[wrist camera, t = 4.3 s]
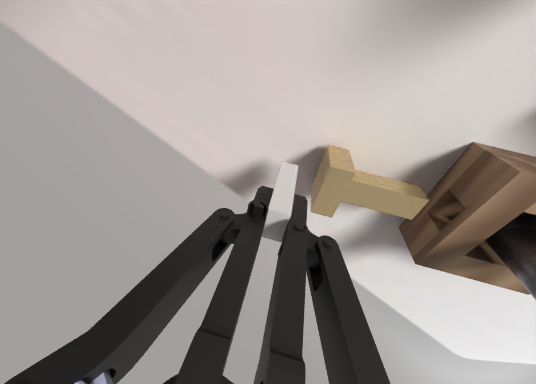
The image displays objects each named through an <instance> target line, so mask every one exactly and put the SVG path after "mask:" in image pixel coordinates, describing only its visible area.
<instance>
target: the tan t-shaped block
mask: <svg viewBox="0 0 536 384" xmlns="http://www.w3.org/2000/svg"><path fill="white" fill-rule="evenodd" d="M341 201H342V202H345V203H349V204H353V205H357V206H361V207H365V208H368V209H372V210H376V211H380V212H384V213H388V214H391V215H395V216H399V217H403V218H407V219H411V220H412V219H413V218H414V217H415V216H416V215H417V214H418V212H419V211H420V210H421V209H422V208H423V207H424V206H425V205H426V204H427V202H428V201H429V199H428V197H427V196H426V195H425V193H424V192H423V191H422V189H421V188H420V186H417V185H413V184H409V183H405V182H401V181H397V180H393V179H389V178H385V177H381V176H377V175H373V174H369V173H366V172H362V171H358V170H355V168H354V165H353V162H352V158H351V155H350V152H349V150H347V149H343V148H339V147H335V146H331V145H328V146H327V149H326V151H325V154H324V156H323V159H322V161H321V164H320V166H319V169H318V172H317V174H316V177H315V179H314V182H313V184H312V190H311V212H312V213H316V214H320V215H324V216H328V217H331V218H332V217H333V215H334V213H335V211H336V209H337V207H338V205H339V203H340V202H341Z"/></svg>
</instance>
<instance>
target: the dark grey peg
mask: <svg viewBox="0 0 536 384" xmlns="http://www.w3.org/2000/svg"><path fill="white" fill-rule="evenodd" d="M485 241H486V243H487V244H488V245H489V246H490V247H491V248H492V249H493V251H494V252H495V253H496V254H497V255H498V256H499V258H500V259H501V260H502V261H503V262H504V263H505V265H506V266H507V267H508V268H509V269H510V270H511V272H512V273H513V274H514V275H515V276H516V277H517V279H518V280H519V281H520V282H521V283H522V284H523V286H524V287H525V288H526V289H527V290H528V291H529V293H530V294H531V295H532V296H533V297H534V298H535V300H536V216H535V215H534V214H530V213H526V212H522V213H521V214H520V215H518V216H517V217H516V218H514V219H513V220H512V221H510V222H509V223H508V224H506V225H505V226H503V227H502V228H501V229H499V230H498V231H497V232H495V233H494V234H493V235H491V236H490V237H489V238H487V239H486V240H485Z"/></svg>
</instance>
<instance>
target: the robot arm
mask: <svg viewBox="0 0 536 384" xmlns="http://www.w3.org/2000/svg"><path fill="white" fill-rule="evenodd" d="M297 172H298V165H294V164H290V163H287V162H283V161H282V164H281V167H280V170H279V174H278V177H277V181H276V184H275V187H274V189H272V188H269V187H265V186H261V187H260V188H259V189H258V191H257V193H256V196H255V198H254V200H253V201H251V202H250V203H249V205H248V210H247V213H244V214H234V212H233V211H232V210H230V209H227V208H221V209H218V210H217V211H215V212H214V213H213V214H212V215H211V216H210V217H209V218H208V219H207V220H206V221H205V222H203V224H201V225H200V226H199V227H198V228H197V229H196V230H195V231H194V232H193V233H192V234H191V235H190V236H189V237H187V238H186V239H185V240H184V241H183V242H182V243H181V244H180V245H179V246H178V247H177V248H176V249H175V250H174V251H173V252H172V253H170V254H169V255H168V256H167V257H166V258H165V259H164V260H163V261H162V262H161V263H160V264H159V265H158V266H157V267H156V268H155V269H153V270H152V271H151V272H150V273H149V274H148V275H147V276H146V277H145V278H144V279H143V280H142V281H141V282H140V283H139V284H137V285H136V286H135V287H134V288H133V289H132V290H131V291H130V292H129V293H128V294H127V295H126V296H125V297H124V298H123V299H122V300H120V301H119V302H118V303H117V304H116V305H115V306H114V307H113V308H112V309H111V310H110V311H109V312H108V313H107V314H106V315H105V316H103V317H102V318H101V319H100V320H99V321H98V322H97V323H96V324H95V325H94V326H93V327H92V328H91V329H90V330H89V331H87V332H86V333H85V334H83V335H81V336H79V337H78V338H76V339H74V340H73V341H71V342H70V343H68V344H66V345H65V346H63V347H61V348H60V349H58V350H57V351H55V352H53V353H52V354H50V355H49V356H47V357H45V358H44V359H42V360H40V361H39V362H37V363H36V364H34V365H32V366H31V367H29V368H27V369H26V370H24V371H23V372H21V373H20V374H18V375H16V376H15V377H13V378H11V379H10V380H8V381H7V382H6V383H5V384H116V383H118V382H119V381H120V380H121V379H122V378H123V377H124V376H125V375H126V374H127V373H128V372H129V371H130V370H131V369H132V368H133V366H134V365H135V364H136V363H137V362H138V361H139V359H140V358H141V357H142V356H143V355H144V353H145V352H146V351H147V350H148V348H149V347H150V346H151V345H152V343H153V342H154V341H155V339H156V338H157V337H158V335H159V334H160V333H161V332H162V331H163V329H164V328H165V327H166V326H167V324H168V323H169V322H170V321H171V319H172V318H173V317H174V315H175V314H176V313H177V312H178V310H179V309H180V308H181V307H182V305H183V304H184V303H185V302H186V300H187V299H188V298H189V296H190V295H191V294H192V293H193V291H194V290H195V289H196V288H197V286H198V285H199V284H200V282H201V281H202V280H203V279H204V278H205V276H206V275H207V274H208V272H209V271H210V270H211V269H212V267H213V266H214V265H215V263H216V262H217V261H218V260H219V259H220V257H221V256H222V255H223V253H224V252H225V251H226V250H227V248H228V247H229V246H230V244H234V246H233V249H232V251H231V254H230V256H229V259H228V261H227V263H226V266H225V268H224V271H223V273H222V276H221V278H220V280H219V283H218V285H217V288H216V290H215V293H214V295H213V298H212V300H211V303H210V305H209V307H208V310H207V313H206V315H205V317H204V320H203V322H202V324H201V326H200V328H199V329H198V330H197V332H196V334H195V336H194V338H193V340H192V343H191V345H190V347H189V350H188V352H187V355H186V357H185V359H184V362H183V364H182V367H181V369H180V371H179V374H177V375H175V376H173V377H171V378H170V379H169V380H167V381H166V382H164V383H163V384H233V383H232V382H231V381H229V380H228V379H227V378H226V377H224V376H223V372H224V368H225V365H226V361H227V357H228V353H229V350H230V346H231V343H232V339H233V336H234V332H235V329H236V325H237V322H238V318H239V315H240V311H241V308H242V304H243V300H244V297H245V293H246V290H247V286H248V283H249V279H250V276H251V272H252V269H253V265H254V262H255V258H256V254H257V251H258V247H259V244H260V240H261V237H264V238H268V239H272V240H275V241H279V242H282V244H281V247H280V249H279V252H278V261H277V266H276V272H275V277H274V283H273V288H272V294H271V299H270V304H269V310H268V315H267V322H266V326H265V332H264V338H263V343H262V349H261V353H260V359H259V364H258V368H257V371H256V375H255V380H254V384H305V363H304V361H303V358H302V346H303V325H304V304H305V284H306V271H307V276H308V281H309V286H310V291H311V296H312V301H313V306H314V310H315V316H316V321H317V325H318V330H319V335H320V340H321V345H322V350H323V355H324V360H325V365H326V370H327V375H328V380H329V384H390V382H389V379H388V376H387V374H386V371H385V368H384V366H383V363H382V361H381V358H380V355H379V353H378V350H377V347H376V344H375V342H374V339H373V337H372V334H371V331H370V329H369V326H368V323H367V321H366V318H365V315H364V313H363V310H362V307H361V305H360V302H359V300H358V297H357V294H356V291H355V289H354V286H353V283H352V281H351V278H350V275H349V273H348V270H347V267H346V265H345V262H344V259H343V257H342V254H341V251H340V249H339V246H338V244H337V242H336V241H335V240H334V239H333V238H331V237H329V236H321V237H317V236H315V235H314V234H312V233H311V232H310V231H309V230H308V227H307V226H306V220H307V200H306V198H305V197H303V196H300V195H296V194H294V192H295V186H296V179H297Z"/></svg>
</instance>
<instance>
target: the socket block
mask: <svg viewBox="0 0 536 384" xmlns="http://www.w3.org/2000/svg"><path fill="white" fill-rule="evenodd" d="M427 197H428V199H429V201H428V202H427V204H426V205H425V206H424V207H423V208H422V209H421V210H420V211H419V212H418V214H417V215H416V216H415V217H414V218H413V219H412V220H411V219H406V220H405V221H404V222H403V223H402V225H401V226H400V227H399V229H400V231H401V233H402V235H403V237H404V240H405V242H406V244H407V246H408V249H409V251H410V253H411V255H412V257H413V260H414V262H415V264H417V265H421V266H425V267H429V268H432V269H436V270H440V271H443V272H447V273H451V274H454V275H458V276H462V277H466V278H469V279H473V280H477V281H480V282H484V283H488V284H491V285H495V286H499V287H503V288H506V289H510V290H514V291H517V292H521V293H525V294H528V295H529V294H530V293H529V291H528V290H527V289H526V288H525V287H524V286H523V284H522V283H521V282H520V281H519V280H518V279H517V277H516V276H515V275H514V274H513V273H512V272H511V270H510V269H509V268H508V267H507V266H506V265H505V263H504V262H503V261H502V260H501V259H500V258H499V256H498V255H497V254H496V253H495V252H494V251H493V249H492V248H491V247H490V246H489V245H488V244H487V243H486V241H485V240H486V239H487V238H489V237H490V236H491V235H493V234H494V233H495V232H497V231H498V230H499V229H501V228H502V227H503V226H505V225H506V224H508V223H509V222H510V221H512V220H513V219H514V218H516V217H517V216H518V215H520V214H521V213H522V212H526V213H530V214H534V215H535V216H536V157H533V156H529V155H525V154H520V153H516V152H512V151H508V150H504V149H500V148H495V147H491V146H487V145H483V144H479V143H475V142H473V143H472V144H471V146H470V147H469V148H468V149H467V150H466V151H465V152H464V154H463V155H462V156H461V157H460V158H459V159H458V161H457V162H456V163H455V164H454V165H453V166H452V167H451V169H450V170H449V171H448V172H447V173H446V174H445V175H444V177H443V178H442V179H441V180H440V181H439V182H438V183H437V185H436V186H435V187H434V188H433V189H432V190H431V191H430V193H429V194H428V195H427ZM456 216H457V217H456Z"/></svg>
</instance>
